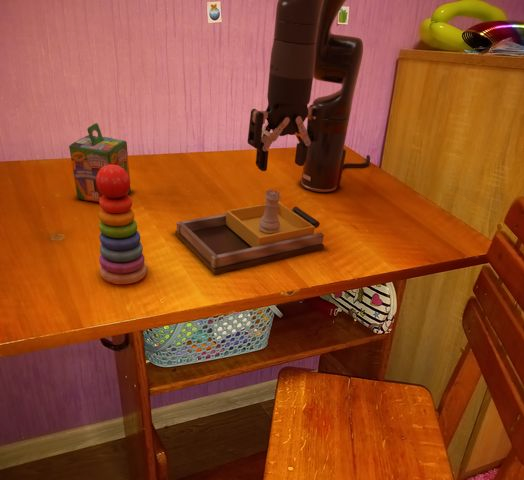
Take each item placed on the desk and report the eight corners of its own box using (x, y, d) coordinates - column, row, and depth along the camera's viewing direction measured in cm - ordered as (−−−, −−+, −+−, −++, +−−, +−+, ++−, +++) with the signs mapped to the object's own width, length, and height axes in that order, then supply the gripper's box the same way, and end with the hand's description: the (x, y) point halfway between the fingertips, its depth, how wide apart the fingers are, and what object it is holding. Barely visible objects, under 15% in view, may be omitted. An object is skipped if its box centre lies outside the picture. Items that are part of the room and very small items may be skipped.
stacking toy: (155, 269, 88) (149, 164, 76) (132, 291, 82) (121, 180, 70) (116, 259, 89) (105, 154, 77) (91, 279, 83) (74, 169, 71)
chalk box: (115, 206, 106) (107, 135, 97) (75, 199, 107) (64, 128, 98) (132, 191, 113) (127, 123, 104) (95, 185, 114) (86, 117, 105)
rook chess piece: (257, 224, 101) (260, 186, 96) (278, 225, 102) (283, 188, 97) (259, 234, 98) (262, 195, 93) (281, 235, 99) (285, 197, 93)
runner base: (277, 215, 110) (279, 203, 108) (323, 249, 100) (326, 235, 98) (175, 234, 99) (175, 220, 97) (215, 274, 88) (215, 260, 86)
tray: (289, 212, 109) (291, 199, 107) (325, 237, 101) (328, 223, 99) (225, 224, 101) (226, 210, 99) (258, 252, 93) (259, 237, 91)
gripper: (267, 78, 77) (259, 179, 88) (338, 75, 84) (322, 169, 94) (244, 67, 82) (238, 164, 92) (312, 65, 88) (300, 156, 99)
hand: (281, 167), depth 93 cm, fingers open, 8 cm apart
